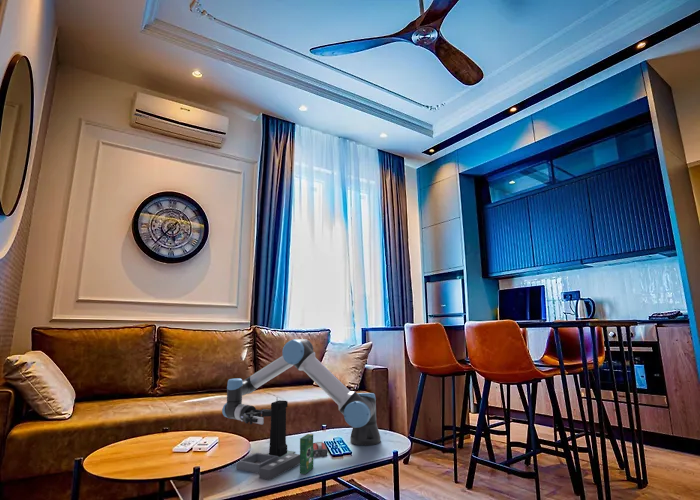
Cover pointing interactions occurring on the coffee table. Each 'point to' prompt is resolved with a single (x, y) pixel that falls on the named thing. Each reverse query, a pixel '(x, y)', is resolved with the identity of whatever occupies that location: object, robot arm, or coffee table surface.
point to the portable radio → (278, 428)
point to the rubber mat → (285, 454)
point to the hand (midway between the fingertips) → (274, 418)
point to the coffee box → (306, 453)
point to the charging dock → (268, 464)
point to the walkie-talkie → (319, 449)
